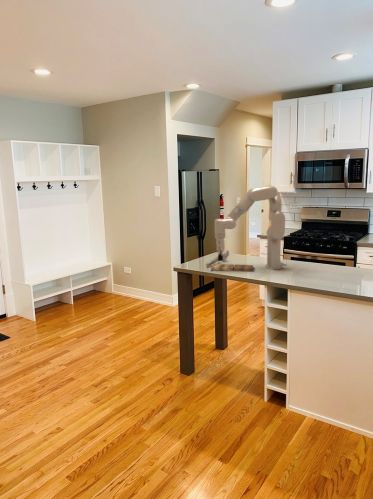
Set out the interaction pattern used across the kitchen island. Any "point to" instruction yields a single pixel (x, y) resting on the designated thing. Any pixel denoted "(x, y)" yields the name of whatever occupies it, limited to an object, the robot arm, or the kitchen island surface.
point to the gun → (217, 259)
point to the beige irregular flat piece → (223, 267)
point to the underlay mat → (233, 270)
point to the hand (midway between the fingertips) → (220, 260)
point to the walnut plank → (243, 268)
